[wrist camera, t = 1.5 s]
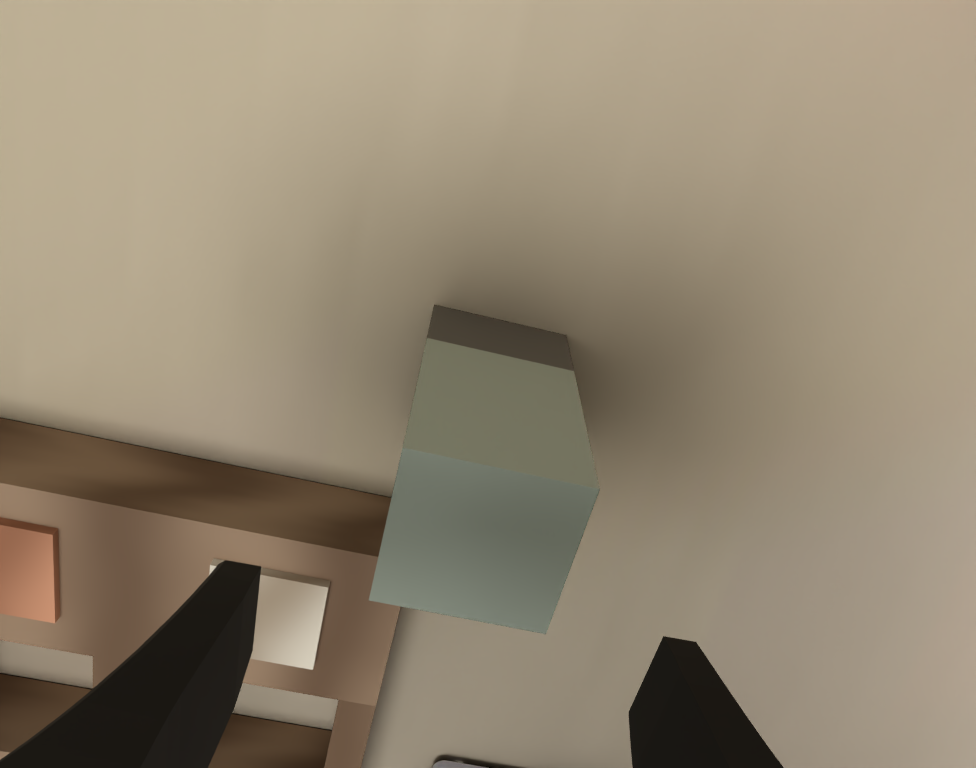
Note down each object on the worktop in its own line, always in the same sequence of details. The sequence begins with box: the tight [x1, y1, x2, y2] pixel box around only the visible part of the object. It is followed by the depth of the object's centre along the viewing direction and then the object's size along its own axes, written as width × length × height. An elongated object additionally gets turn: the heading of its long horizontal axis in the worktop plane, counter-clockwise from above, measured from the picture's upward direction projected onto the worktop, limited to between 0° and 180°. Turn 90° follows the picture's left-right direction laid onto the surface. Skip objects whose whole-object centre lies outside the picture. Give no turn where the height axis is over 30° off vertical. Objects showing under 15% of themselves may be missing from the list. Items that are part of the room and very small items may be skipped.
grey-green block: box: [369, 305, 600, 634], centre depth 19 cm, size 4×4×8 cm
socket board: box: [0, 418, 401, 768], centre depth 25 cm, size 16×14×3 cm
